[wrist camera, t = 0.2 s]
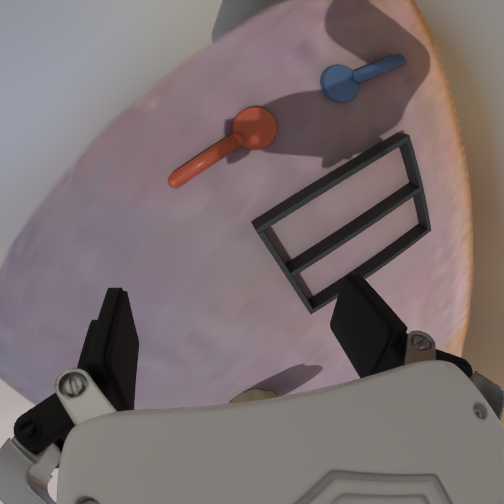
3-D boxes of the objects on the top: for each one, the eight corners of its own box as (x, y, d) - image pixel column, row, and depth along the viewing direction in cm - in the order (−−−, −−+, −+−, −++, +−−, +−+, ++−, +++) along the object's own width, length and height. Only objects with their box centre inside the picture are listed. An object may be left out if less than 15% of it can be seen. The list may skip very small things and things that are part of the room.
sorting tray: (249, 218, 30) (255, 229, 27) (393, 131, 28) (409, 134, 25) (302, 300, 37) (310, 314, 34) (418, 222, 35) (431, 230, 32)
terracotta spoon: (278, 134, 26) (287, 137, 24) (182, 195, 27) (181, 204, 25) (258, 100, 24) (265, 99, 22) (158, 163, 25) (155, 169, 23)
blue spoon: (309, 74, 23) (321, 71, 21) (385, 44, 22) (400, 42, 20) (327, 108, 25) (340, 108, 23) (399, 74, 24) (414, 74, 22)
